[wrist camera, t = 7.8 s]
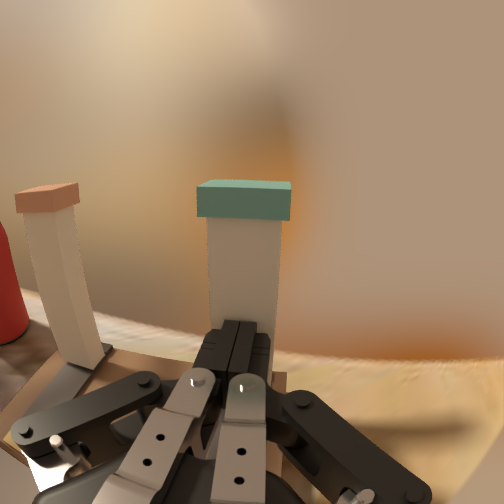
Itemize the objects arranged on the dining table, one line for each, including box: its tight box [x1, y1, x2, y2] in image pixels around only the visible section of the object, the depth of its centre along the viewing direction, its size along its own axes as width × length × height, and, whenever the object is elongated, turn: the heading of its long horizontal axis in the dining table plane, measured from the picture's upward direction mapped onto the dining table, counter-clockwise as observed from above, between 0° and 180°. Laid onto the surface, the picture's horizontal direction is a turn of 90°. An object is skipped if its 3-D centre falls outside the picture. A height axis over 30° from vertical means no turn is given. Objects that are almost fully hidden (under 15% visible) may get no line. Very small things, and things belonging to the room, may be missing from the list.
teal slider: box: [197, 180, 291, 387], centre depth 14 cm, size 4×2×12 cm, turn 83°
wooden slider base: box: [0, 342, 287, 478], centre depth 15 cm, size 18×12×2 cm, turn 83°
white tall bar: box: [15, 183, 105, 370], centre depth 16 cm, size 4×2×12 cm, turn 84°
